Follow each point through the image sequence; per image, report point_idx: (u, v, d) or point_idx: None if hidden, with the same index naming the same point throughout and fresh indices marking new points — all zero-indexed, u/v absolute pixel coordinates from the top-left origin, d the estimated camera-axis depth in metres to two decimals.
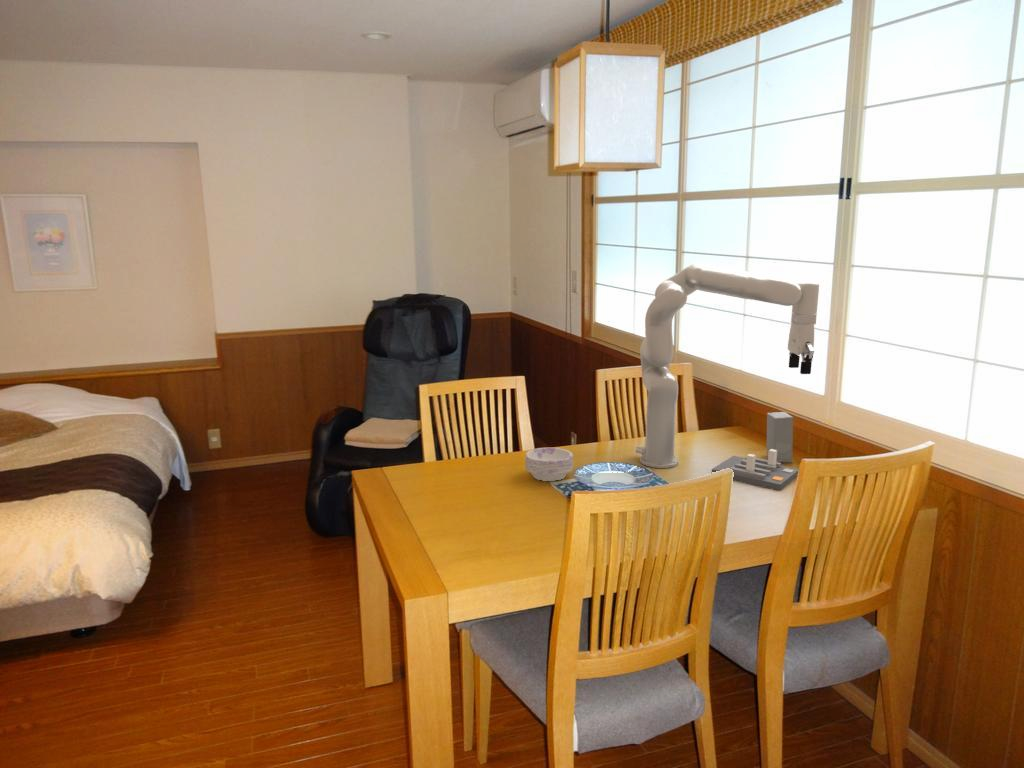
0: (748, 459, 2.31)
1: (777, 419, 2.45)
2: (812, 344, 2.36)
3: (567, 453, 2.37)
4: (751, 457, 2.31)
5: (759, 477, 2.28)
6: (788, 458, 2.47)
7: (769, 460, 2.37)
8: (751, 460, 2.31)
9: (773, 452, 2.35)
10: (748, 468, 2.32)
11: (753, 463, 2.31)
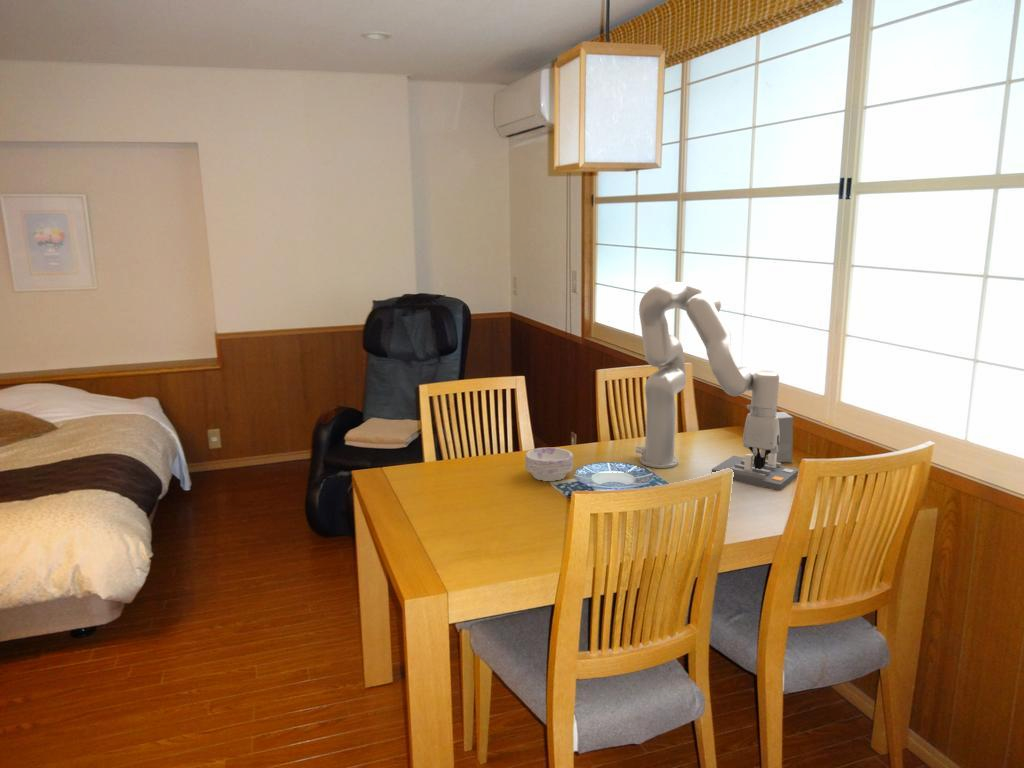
0: (746, 459, 2.32)
1: None
2: None
3: (567, 453, 2.37)
4: (749, 457, 2.31)
5: (759, 477, 2.28)
6: (788, 458, 2.47)
7: (769, 460, 2.37)
8: (749, 460, 2.31)
9: None
10: (746, 468, 2.32)
11: (751, 463, 2.32)
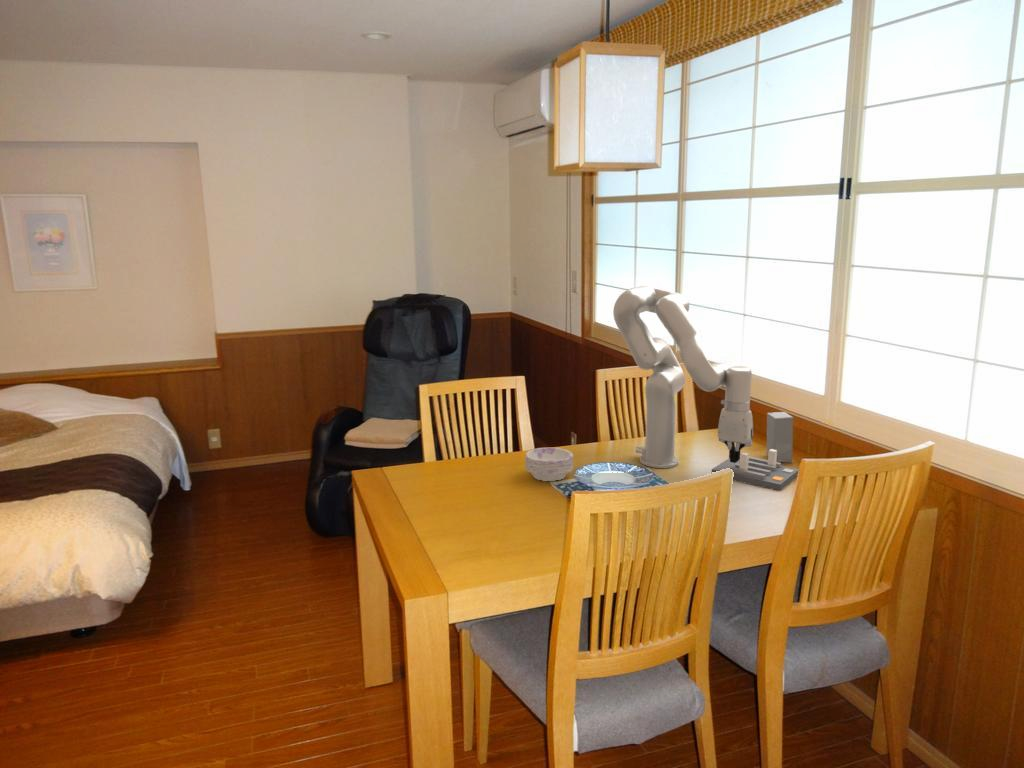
0: (741, 458, 2.33)
1: (777, 419, 2.45)
2: (752, 430, 2.31)
3: (567, 453, 2.37)
4: (744, 456, 2.32)
5: (759, 477, 2.28)
6: (788, 458, 2.47)
7: (769, 460, 2.37)
8: (744, 459, 2.32)
9: (773, 452, 2.35)
10: (741, 467, 2.33)
11: (747, 462, 2.33)
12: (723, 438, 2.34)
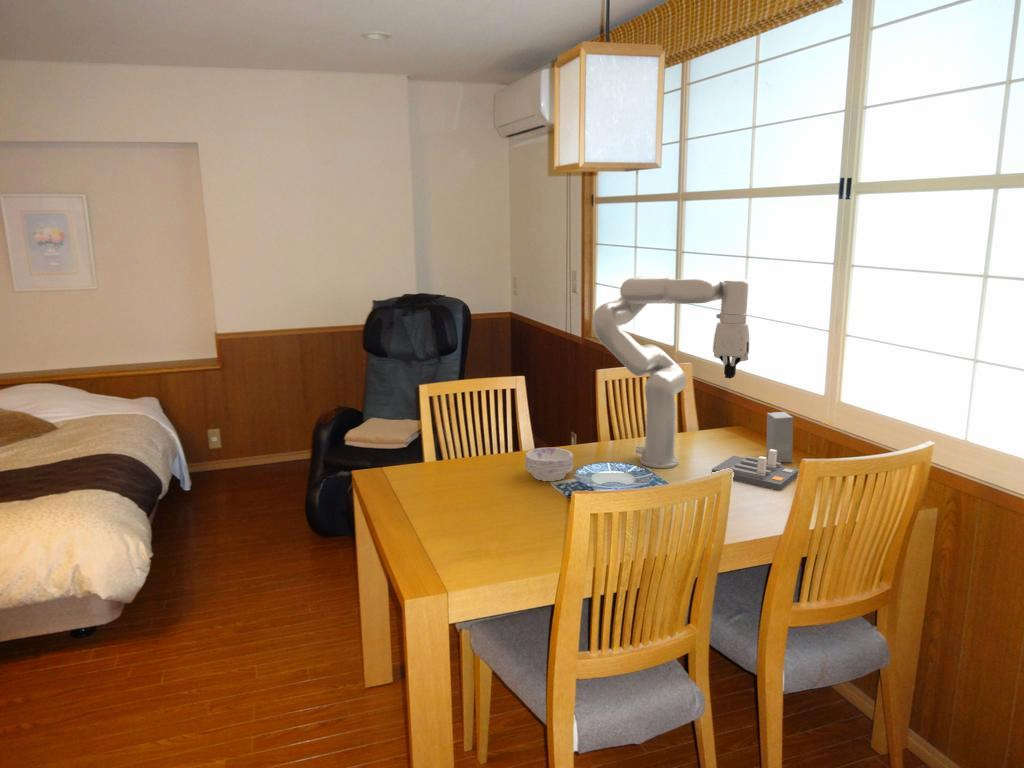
0: (759, 461, 2.29)
1: (777, 419, 2.45)
2: None
3: (567, 453, 2.37)
4: (762, 459, 2.28)
5: (759, 477, 2.28)
6: (788, 458, 2.47)
7: (769, 460, 2.37)
8: (762, 462, 2.29)
9: (773, 452, 2.35)
10: (759, 470, 2.30)
11: (764, 465, 2.29)
12: (718, 353, 2.28)
